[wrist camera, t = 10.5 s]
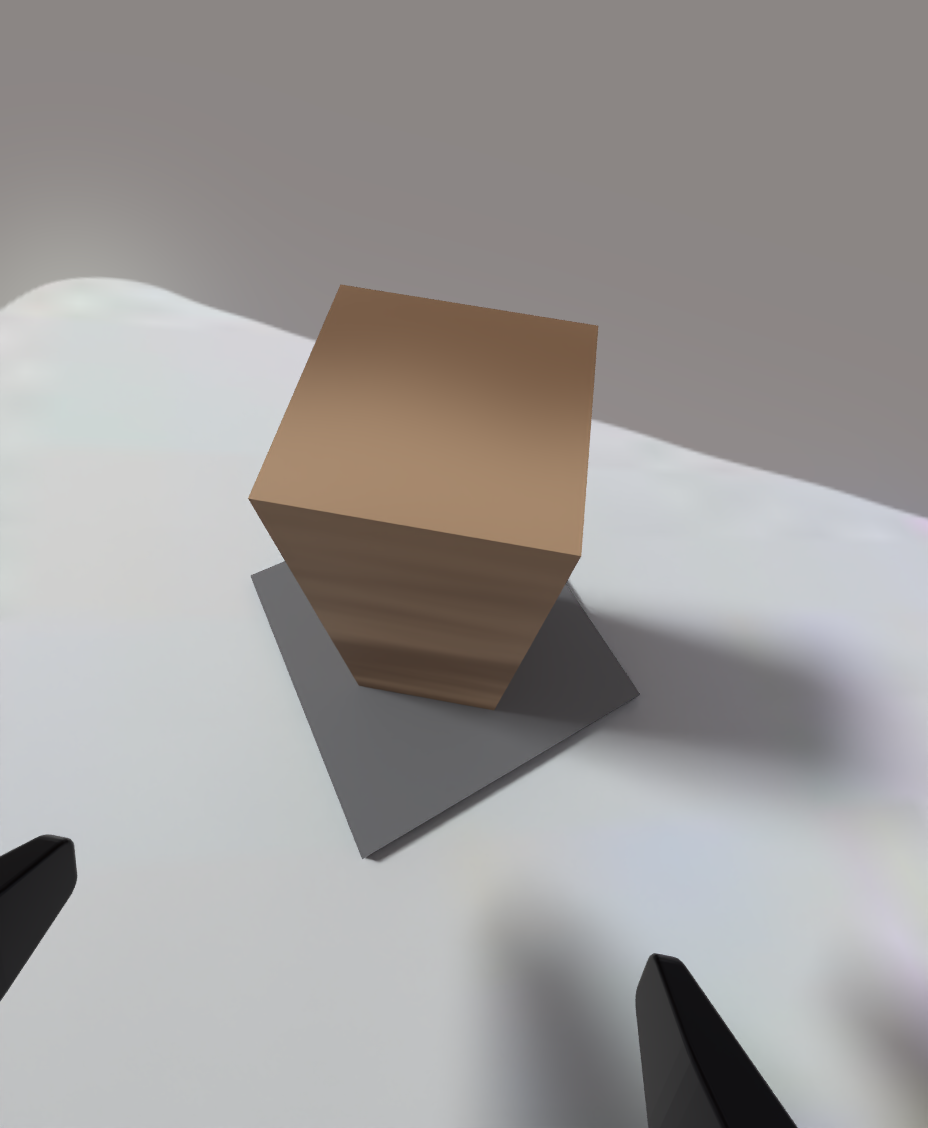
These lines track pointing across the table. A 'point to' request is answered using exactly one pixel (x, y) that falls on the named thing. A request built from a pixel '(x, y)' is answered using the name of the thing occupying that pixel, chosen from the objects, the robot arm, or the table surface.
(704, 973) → the table surface
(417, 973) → the table surface
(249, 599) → the table surface
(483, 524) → the walnut block
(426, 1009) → the table surface
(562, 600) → the mat
